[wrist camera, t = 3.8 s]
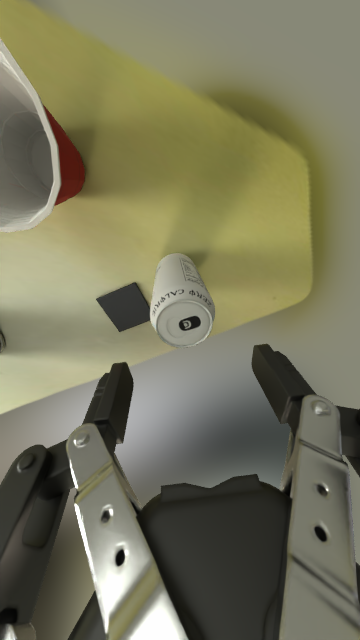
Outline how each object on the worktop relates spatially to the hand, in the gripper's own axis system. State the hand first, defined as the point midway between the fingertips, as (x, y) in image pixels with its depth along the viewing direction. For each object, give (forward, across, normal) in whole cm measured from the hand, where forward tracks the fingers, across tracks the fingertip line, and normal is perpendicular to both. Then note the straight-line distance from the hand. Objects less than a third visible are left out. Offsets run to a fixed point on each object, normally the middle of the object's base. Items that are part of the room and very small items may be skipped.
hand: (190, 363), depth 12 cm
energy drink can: (+20, 0, 0) cm, 20 cm away
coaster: (+19, +9, +5) cm, 22 cm away
